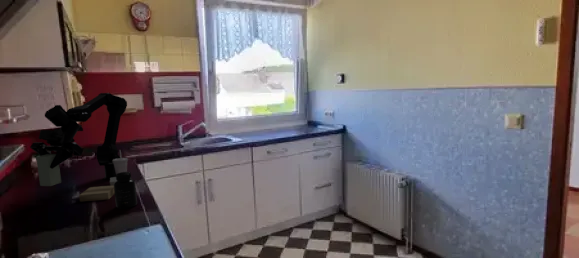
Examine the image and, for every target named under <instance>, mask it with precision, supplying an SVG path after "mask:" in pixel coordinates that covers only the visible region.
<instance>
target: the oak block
mask: <svg viewBox="0 0 579 258" xmlns="http://www.w3.org/2000/svg"><path fill="white" fill-rule="evenodd" d="M113 196H115V193H114V185H112V186H110V185H101V186H90V187H88V188H87V189H86V190H84V191H83V192H81V193H80V194H79V195H78V197H79V202H82V203H83V202H91V201H93V202H94V201H95V202H96V201H105V200H106V201H107V200H110V198H112V197H113Z"/></svg>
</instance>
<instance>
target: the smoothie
mask: <svg viewBox="0 0 579 258" xmlns="http://www.w3.org/2000/svg"><path fill="white" fill-rule="evenodd" d="M118 152H119V156H120V158H118V159H114V160H112V162H113V163H114V168H115V172H116V174H118V173H121V172H128V161H129V159H128V157H122V150H121V149H119V150H118Z"/></svg>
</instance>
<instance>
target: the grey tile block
mask: <svg viewBox="0 0 579 258" xmlns="http://www.w3.org/2000/svg"><path fill="white" fill-rule="evenodd" d="M116 181H117V180H116V177H113V178H110V179H109V186H112V185H114V183H115V182H116Z"/></svg>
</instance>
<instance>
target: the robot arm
mask: <svg viewBox="0 0 579 258" xmlns="http://www.w3.org/2000/svg"><path fill="white" fill-rule="evenodd" d="M103 106H106V110H107V112H108V120H107V123H106V124H107V125H106V130H105V134H104V140H103V143H102V145H98V146H97V148H96V150H97V151H96V153H95V155H96V160H97V163H98V164H99V167H100V166H101V167H102V166H103V167H104V177H103V178H102V180H110V178H113V177H116V172H115V168H114V163H113V162H112V160H114V159H118V158H120V154H119V150H118V148H117V145H116V143H117V138H118V133H119V127H120V121H121V118H122V115H124V113H125V112H126V110H127V107H128V101H127V99H125V98H124V97H121V96H118V95H114V94H112V93H110V92H101V93H99V94H98V95H97V96H95V97H94V98H91V99H90V100H88V101H87V102H85V103H84V104H82V105H77V106H74V107H70V108H68V109H67V110H65V109H64V108H63V106H62V105H61V104H55V105H54V106H53V107H51V108H49V109H48V110H46V111H45V113H44V117H45V118H46V120H48V121H50V123H52V124H53V125H54V126H55V127H56V128H54V129H53V130H50V129H41V130H40V132H39V136H38V139H39V140H44V141H46V143H47V144H46V143H45V142H44V141H43V142H42V141H40V142H38V141H35V142H32V143H31V145H30V147H29V148H30V149H31V150H33V151H34V152H36V153H37V154H38V155H39V156H42V155H46V154H52V152H55V153H56V156H55V158H54V159H53V161H52V163H51V166H50V168H51V169H53V168H54V167H56V166H57V165H59V166H60V164H62V163H63V162H65V161H66V160H69V159H70V158H73V157H74V156H75V157H80V156H82V155H83V152H84V149H83V148H82V146H80V145H79V144H78V143H77V142H75V141H76V139H74V138H75V137H76V135H77V133H78V132H83V131H84V128H83V126H82V124H79V123H85V122H87V121H89V120H90V118H91V117H92V116H93V115H92V114H93V113H94V112H95V111H97V110H99V109H100V108H102V107H103ZM57 127H58V128H57ZM59 127H60V128H59ZM48 144H49V145H48Z"/></svg>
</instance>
